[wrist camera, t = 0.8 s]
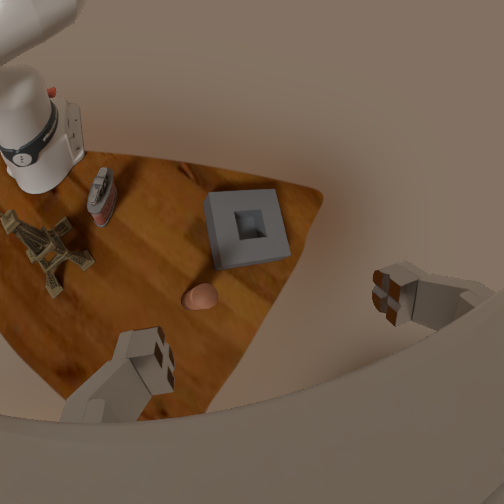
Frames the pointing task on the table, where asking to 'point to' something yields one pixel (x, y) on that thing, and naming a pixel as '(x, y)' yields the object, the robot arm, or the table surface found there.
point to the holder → (245, 228)
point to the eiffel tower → (46, 247)
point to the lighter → (102, 197)
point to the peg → (200, 297)
